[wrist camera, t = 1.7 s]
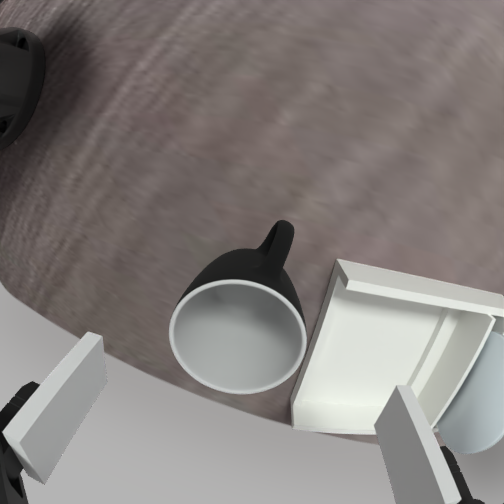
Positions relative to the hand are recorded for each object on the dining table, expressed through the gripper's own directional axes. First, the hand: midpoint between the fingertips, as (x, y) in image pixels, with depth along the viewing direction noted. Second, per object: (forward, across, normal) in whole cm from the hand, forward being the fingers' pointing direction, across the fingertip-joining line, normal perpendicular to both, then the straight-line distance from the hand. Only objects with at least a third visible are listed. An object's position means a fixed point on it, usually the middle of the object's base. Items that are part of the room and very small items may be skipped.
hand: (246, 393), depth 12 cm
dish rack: (+17, +18, -7) cm, 25 cm away
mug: (+17, 0, -1) cm, 17 cm away
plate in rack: (+17, +24, -7) cm, 30 cm away
